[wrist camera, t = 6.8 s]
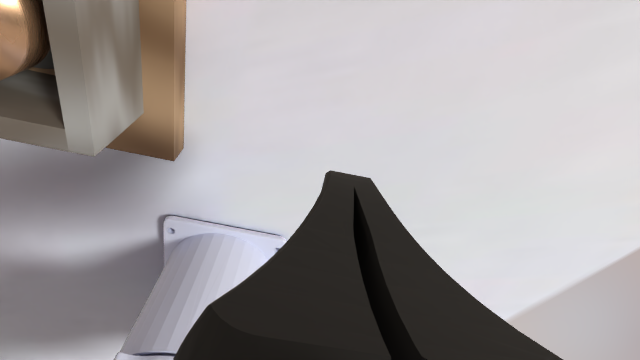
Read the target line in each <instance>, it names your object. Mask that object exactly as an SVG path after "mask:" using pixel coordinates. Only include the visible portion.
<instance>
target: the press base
mask: <svg viewBox="0 0 640 360" xmlns="http://www.w3.org/2000/svg"><path fill="white" fill-rule="evenodd" d="M43 6H44V12H45V18H46V23H47V29H48V35H49V41H50V46H51V52H52V58H53V64H54V69H42V68H36V67H31V68H29V69H27V70H24V71H22V72H20V73H17V74H15V75H12V76H10V77H8V78H5V79H3V80H0V138H2V139H7V140H12V141H17V142H22V143H27V144H32V145H37V146H42V147H47V148H52V149H57V150H62V151H67V152H72V153H77V154H82V155H87V156H92V157H95V156H96V155H97V154H99V153H100V152H101V151H102V150H103V149H104V148H105V147H106V148H111V149H116V150H120V151H125V152H130V153H135V154H140V155H145V156H150V157H155V158H160V159H165V160H170V161H174V160H175V159H176V158H177V156H178V155H179V154H180V152H181V151H182V149H183V143H184V90H185V37H186V0H43Z"/></svg>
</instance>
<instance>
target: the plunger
mask: <svg viewBox="0 0 640 360" xmlns="http://www.w3.org/2000/svg"><path fill="white" fill-rule="evenodd" d="M31 67H36V68H42V69H54V64H53V58H52V52H51V46H50V41H49V35H48V29H47V23H46V18H45V12H44V6H43V0H0V80H3V79H5V78H8V77H10V76H12V75H15V74H17V73H20V72H22V71H24V70H27V69H29V68H31Z"/></svg>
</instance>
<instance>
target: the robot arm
mask: <svg viewBox="0 0 640 360" xmlns="http://www.w3.org/2000/svg"><path fill="white" fill-rule="evenodd" d="M170 228H172V229H174V230H172V229H170ZM163 236H164V269H163V271H162V273H161V275H160V276H159V278H158V280H157V282H156V284H155V286H154V288H153V290H152V292H151V294H150V295H149V297H148V299H147V301H146V303H145V305H144V307H143V309H142V311H141V312H140V314H139V316H138V318H137V320H136V322H135V324H134V326H133V328H132V330H131V331H130V333H129V335H128V337H127V339H126V341H125V343H124V345H123V347H122V349H121V350H120V352H118V353H117V355H116V356H115V358H114V360H563V359H561V358H559V357H558V356H557V355H555V354H553V353H552V352H550V351H549V350H547V349H546V348H544V347H542V346H541V345H540V344H538V343H536V342H535V341H533V340H532V339H530V338H529V337H527V336H526V335H524V334H522V333H521V332H519V331H518V330H517V329H515V328H514V327H512V326H511V325H509V324H508V323H507V322H506V321H504V320H503V319H501V318H500V317H499V316H497V315H496V314H495V313H493V312H492V311H491V310H489V309H488V308H487V307H485V306H484V305H483V304H482V303H480V302H479V301H478V300H477V299H475V298H474V297H473V296H472V295H471V294H469V293H468V292H467V291H466V290H465V289H464V288H463V287H461V286H460V285H459V284H458V283H457V282H456V281H454V280H453V279H452V278H451V277H450V276H449V275H448V274H447V273H446V272H445V271H444V270H443V269H442V268H441V267H440V266H439V265H438V264H437V263H436V262H435V261H434V260H433V259H432V258H431V257H430V256H429V255H428V254H427V253H426V252H425V251H424V250H423V249H422V248H421V246H420V245H419V244H418V243H417V242H416V241H415V239H414V238H413V237H412V236H411V235H410V233H409V232H408V231H407V230H406V228H405V227H404V226H403V225H402V223H401V222H400V221H399V219H398V218H397V217H396V215H395V214H394V212H393V211H392V210H391V208H390V207H389V205H388V204H387V202H386V201H385V199H384V198H383V196H382V195H381V193H380V192H379V190H378V189H377V187H376V186H375V184H374V183H373V181H372V180H371V179H370V178H366V177H361V176H356V175H351V174H346V173H341V172H335V171H329V172H327V173H326V175H325V179H324V183H323V187H322V191H321V193H320V195H319V197H318V199H317V201H316V203H315V204H314V206H313V208H312V209H311V211H310V212H309V214H308V215H307V217H306V218H305V220H304V221H303V223H302V224H301V225H300V227H299V228H298V229H297V230H296V232H295V233H294V234H293V235H292V236H291V237H290V239H289V240H288V241H287V240H286V239H285V238H284V237H282V236H277V235H272V234H266V233H261V232H256V231H251V230H245V229H240V228H235V227H229V226H224V225H219V224H213V223H208V222H203V221H198V220H192V219H187V218H182V217H176V216H167V217H166V218H165V220H164V222H163ZM276 248H280V249H279V250H278V249H276Z"/></svg>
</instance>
